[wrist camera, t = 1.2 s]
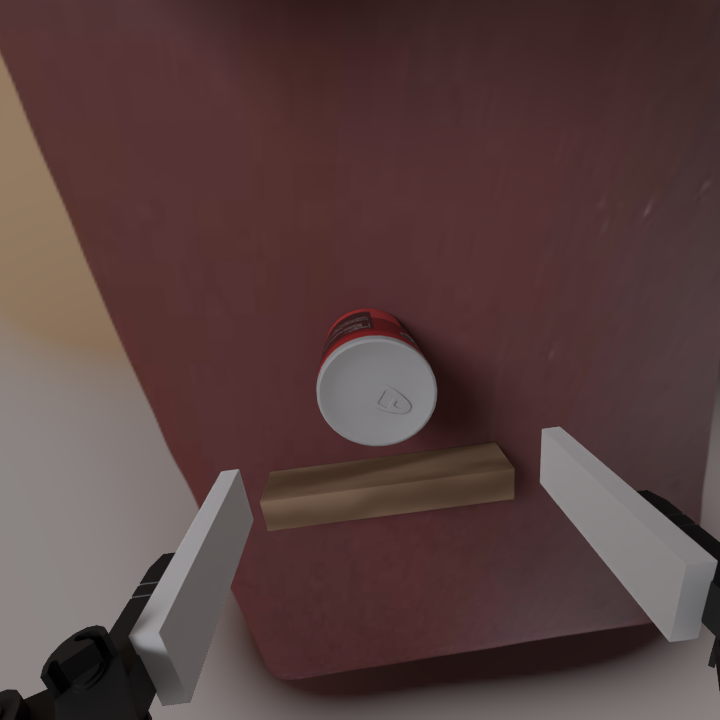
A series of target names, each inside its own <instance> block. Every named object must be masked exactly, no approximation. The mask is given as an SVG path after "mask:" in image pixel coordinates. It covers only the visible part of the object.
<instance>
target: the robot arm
mask: <svg viewBox="0 0 720 720" xmlns="http://www.w3.org/2000/svg"><path fill="white" fill-rule="evenodd" d="M540 483H541V485H542V486H543V487H544V488H545V489H546V491H547V492H548V493H549V494H550V496H551V497H552V498H553V499H554V501H555V502H556V503H557V504H558V505H559V507H560V508H561V509H562V510H563V512H564V513H565V514H566V515H567V517H568V518H569V519H570V520H571V521H572V523H573V524H574V525H575V526H576V528H577V529H578V530H579V531H580V533H581V534H582V535H583V536H584V537H585V539H586V540H587V541H588V542H589V544H590V545H591V546H592V547H593V549H594V550H595V551H596V552H597V553H598V555H599V556H600V557H601V558H602V560H603V561H604V562H605V563H606V565H607V566H608V567H609V568H610V569H611V571H612V572H613V573H614V574H615V576H616V577H617V578H618V579H619V580H620V582H621V583H622V584H623V585H624V587H625V588H626V589H627V590H628V592H629V593H630V594H631V595H632V596H633V598H634V599H635V600H636V601H637V603H638V604H639V605H640V606H641V608H642V609H643V610H644V611H645V612H646V614H647V615H648V616H649V617H650V619H651V620H652V621H653V622H654V623H655V625H656V626H657V627H658V628H659V630H660V631H661V632H662V633H663V635H664V636H665V637H666V638H667V640H668V641H669V642H674V641H682V640H690V639H698V636H699V633H700V629H701V625H702V623H703V624H704V625H705V626H706V627H707V628H708V629H709V630H710V631H711V632H712V633H713V634H714V635H715V636H716V638H715V641H714V645H713V648H712V652H711V656H710V660H709V664H708V666H710V667H713V668H714V667H715V664H716V667H717V675H718V681H719V690H720V542H718V541H717V540H716V539H715V538H714V537H712V536H711V535H710V534H709V533H707V532H706V531H705V530H704V529H702V528H701V527H700V526H699V525H695V522H694V521H692V520H691V519H690V518H689V517H687V516H686V515H683V514H682V512H681V511H680V510H678V509H677V508H676V507H675V506H673V505H672V504H671V503H670V502H668V501H667V500H666V499H664V498H662V497H660V496H658V495H656V494H654V493H652V492H650V491H648V490H644V491H635V490H634V489H633V488H631V487H630V486H629V485H628V484H627V483H625V482H624V481H623V480H622V479H621V478H620V477H618V476H617V475H616V474H615V473H614V472H613V471H611V470H610V469H609V468H608V467H607V466H605V465H604V464H603V463H602V462H601V461H600V460H598V459H597V458H596V457H595V456H594V455H593V454H591V453H590V452H589V451H588V450H587V449H585V448H584V447H583V446H582V445H581V444H580V443H578V442H577V441H576V440H575V439H574V438H573V437H571V436H570V435H569V434H568V433H567V432H565V431H564V430H563V429H562V428H561V427H554V428H546V429H542V442H541V467H540ZM252 523H253V517H252V513H251V510H250V506H249V503H248V499H247V496H246V492H245V489H244V485H243V482H242V478H241V475H240V471H239V469H237V470H230V471H222V472H221V473H220V475H219V477H218V478H217V480H216V482H215V484H214V486H213V487H212V489H211V491H210V493H209V494H208V496H207V498H206V500H205V501H204V503H203V505H202V507H201V509H200V510H199V512H198V514H197V516H196V518H195V519H194V521H193V523H192V525H191V526H190V528H189V530H188V532H187V533H186V535H185V537H184V539H183V541H182V542H181V544H180V546H179V548H178V549H177V551H176V553H168V554H163V555H162V556H161V557H160V558H159V559H158V560H157V561H156V562H155V563H154V564H153V565H152V566H151V567H150V568H149V569H148V571H147V573H146V574H145V576H144V578H143V579H142V581H141V582H140V586H138V587H137V589H136V590H135V592H134V594H133V595H132V599H130V600H129V602H128V603H127V605H126V607H125V608H124V610H123V611H122V613H121V615H120V617H119V618H118V620H117V621H116V623H115V624H114V626H113V628H112V629H111V631H110V632H109V634H108V632H107V630H106V629H105V628H104V627H102V626H98V625H96V626H91V627H87V628H85V629H83V630H81V631H79V632H77V633H75V634H74V635H72V636H71V637H70V638H68V639H67V640H65V641H64V642H63V643H62V644H61V645H60V646H59V647H58V648H57V649H56V650H55V651H54V652H53V653H52V654H51V656H50V657H49V658H48V660H47V662H46V663H45V665H44V666H43V670H42V673H41V677H40V678H41V679H42V681H43V682H44V684H45V685H46V687H47V688H48V689H47V690H44V691H42V692H40V693H38V694H35V695H33V696H31V697H28V698H26V699H23V698H22V696H21V695H20V694H19V692H18V691H17V690H5V691H2V692H0V720H152V717H151V715H150V713H149V711H148V710H149V707H150V705H151V703H152V701H153V698H154V696H155V694H156V693H157V696H158V697H159V700H160V701H161V704H162V705H163V706H166V705H174V704H182V703H189V702H190V701H191V699H192V696H193V693H194V690H195V687H196V684H197V681H198V678H199V675H200V673H201V670H202V667H203V664H204V661H205V658H206V655H207V652H208V650H209V647H210V644H211V641H212V638H213V635H214V632H215V629H216V626H217V624H218V621H219V618H220V615H221V612H222V609H223V606H224V603H225V600H226V598H227V595H228V592H229V589H230V586H231V583H232V580H233V578H234V575H235V572H236V569H237V566H238V563H239V560H240V557H241V554H242V552H243V549H244V546H245V543H246V540H247V537H248V534H249V531H250V529H251V526H252Z"/></svg>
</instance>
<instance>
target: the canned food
mask: <svg viewBox="0 0 720 720" xmlns="http://www.w3.org/2000/svg"><path fill="white" fill-rule="evenodd" d="M316 389H317V400H318V404H319V408H320V411H321V413H322V415H323V416H324V418H325V420H326V422H327V423H328V424H329V425H330V426H331V427H332V428H333V429H334V430H335V431H336V432H337V433H339V434H340V435H341V436H343V437H345V438H347V439H349V440H351V441H353V442H356V443H359V444H362V445H370V446H386V445H391V444H396V443H399V442H401V441H404V440H406V439H408V438H410V437H411V436H413V435H415V434H416V433H417V432H418V431H419V430H421V429H422V428H423V427H424V426H425V424H426V423H427V422H428V420H429V419H430V417H431V415H432V413H433V411H434V409H435V405H436V401H437V386H436V381H435V377H434V374H433V371H432V369H431V367H430V365H429V363H428V362H427V360H426V358H425V357H424V355H423V354H422V352H421V351H420V349H419V348H418V347H417V345H416V344H415V342H414V341H413V339H412V338H411V336H410V335H409V334H408V332H407V331H406V329H405V328H404V326H403V325H402V324H401V323H400V322H399V321H398V320H397V319H396V318H395V317H393V316H392V315H390V314H388V313H386V312H384V311H381V310H377V309H371V308H370V309H358V310H354V311H351V312H349V313H347V314H345V315H344V316H342V317H341V318H339V319H338V320H337V321H336V322H335V323H334V324H333V326H332V328H331V329H330V331H329V333H328V336H327V339H326V343H325V347H324V351H323V355H322V360H321V364H320V368H319V373H318V379H317V387H316Z"/></svg>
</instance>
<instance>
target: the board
mask: <svg viewBox="0 0 720 720" xmlns="http://www.w3.org/2000/svg"><path fill="white" fill-rule="evenodd" d="M514 476H515V468H514V467H513V466H512V464H511V463H510V462H509V460H508V459H507V458H506V456H505V455H504V454H503V452H502V451H501V449H500V448H499V447H498V445H497V444H496V443H495V442H492V443H485V444H477V445H470V446H462V447H455V448H447V449H439V450H432V451H424V452H417V453H409V454H402V455H394V456H387V457H379V458H372V459H364V460H356V461H349V462H341V463H334V464H326V465H319V466H311V467H304V468H296V469H289V470H281V471H273V472H270V474H269V477H268V480H267V483H266V485H265V488H264V491H263V494H262V497H261V500H260V504H261V508H262V511H263V515H264V519H265V522H266V526H267V529H268V531H273V530H280V529H288V528H295V527H303V526H311V525H318V524H326V523H334V522H341V521H349V520H357V519H364V518H372V517H380V516H387V515H395V514H403V513H410V512H418V511H425V510H433V509H441V508H448V507H456V506H464V505H471V504H479V503H487V502H494V501H502V500H510V499H514Z"/></svg>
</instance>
